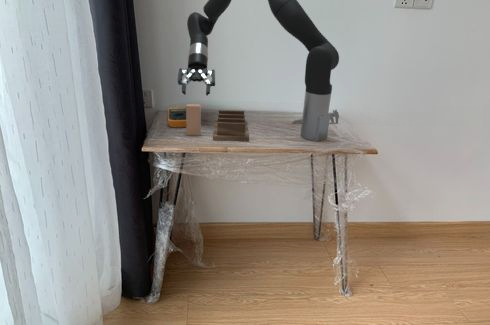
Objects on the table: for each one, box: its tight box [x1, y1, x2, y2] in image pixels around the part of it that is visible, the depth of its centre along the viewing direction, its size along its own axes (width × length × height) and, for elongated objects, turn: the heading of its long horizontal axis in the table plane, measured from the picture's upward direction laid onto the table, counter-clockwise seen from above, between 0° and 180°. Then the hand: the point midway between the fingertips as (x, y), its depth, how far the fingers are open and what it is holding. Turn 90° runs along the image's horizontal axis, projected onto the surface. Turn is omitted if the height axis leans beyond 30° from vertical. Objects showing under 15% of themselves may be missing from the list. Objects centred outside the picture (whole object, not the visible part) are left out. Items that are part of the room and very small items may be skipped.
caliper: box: [290, 109, 340, 124], centre depth 152 cm, size 20×1×6 cm, turn 98°
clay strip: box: [185, 103, 202, 136], centre depth 132 cm, size 2×5×11 cm, turn 92°
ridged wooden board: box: [212, 109, 250, 142], centre depth 137 cm, size 19×13×6 cm
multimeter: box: [167, 107, 187, 129], centre depth 147 cm, size 9×18×3 cm, turn 11°
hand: (195, 94), depth 137 cm, fingers open, 8 cm apart
